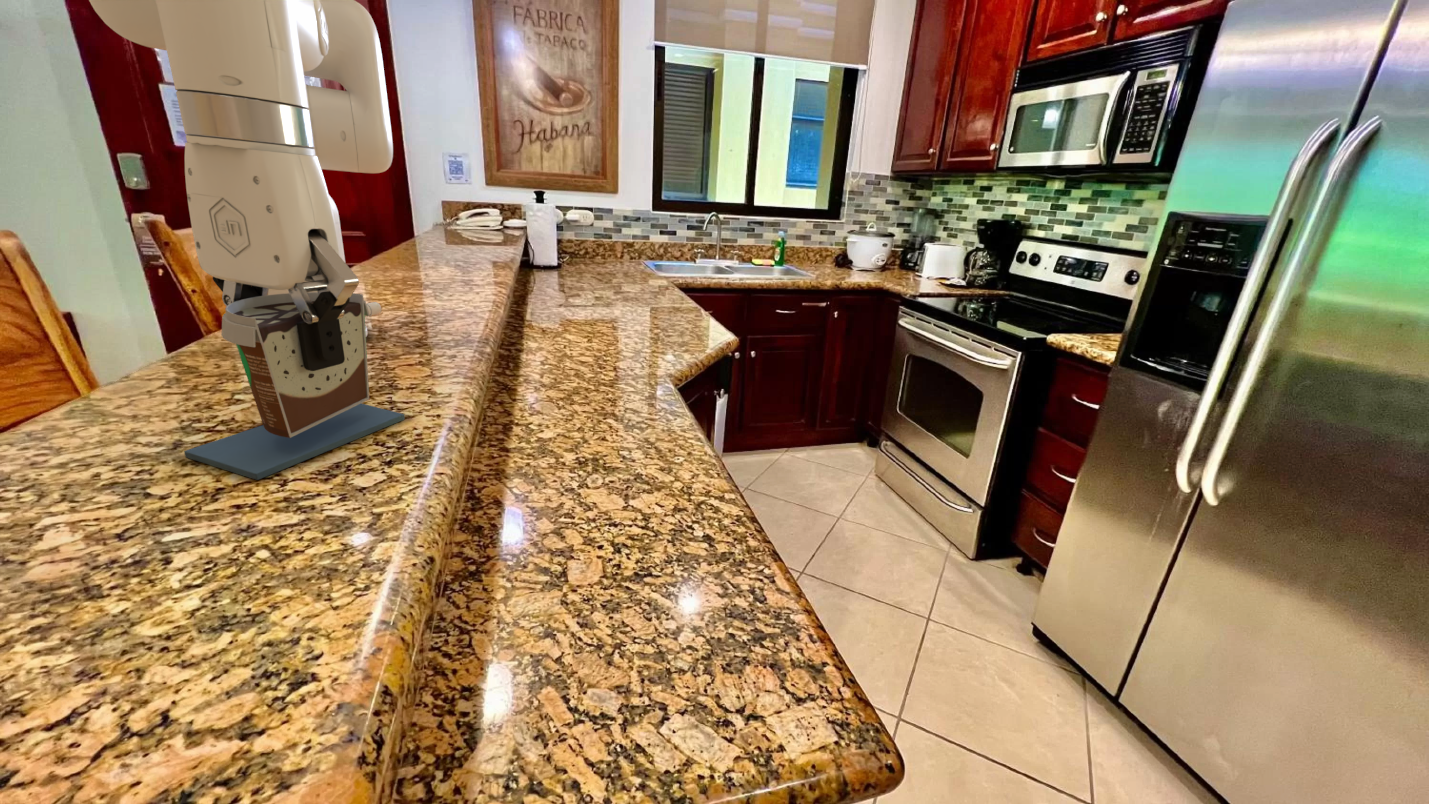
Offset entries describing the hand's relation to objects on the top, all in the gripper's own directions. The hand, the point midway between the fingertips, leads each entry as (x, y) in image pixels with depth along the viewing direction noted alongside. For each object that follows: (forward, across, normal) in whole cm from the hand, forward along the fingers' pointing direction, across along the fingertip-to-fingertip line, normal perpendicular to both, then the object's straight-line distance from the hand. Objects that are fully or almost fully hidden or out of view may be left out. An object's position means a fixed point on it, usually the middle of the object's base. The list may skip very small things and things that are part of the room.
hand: (292, 357), depth 47 cm
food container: (+5, 0, 0) cm, 5 cm away
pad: (+7, 0, 0) cm, 7 cm away
